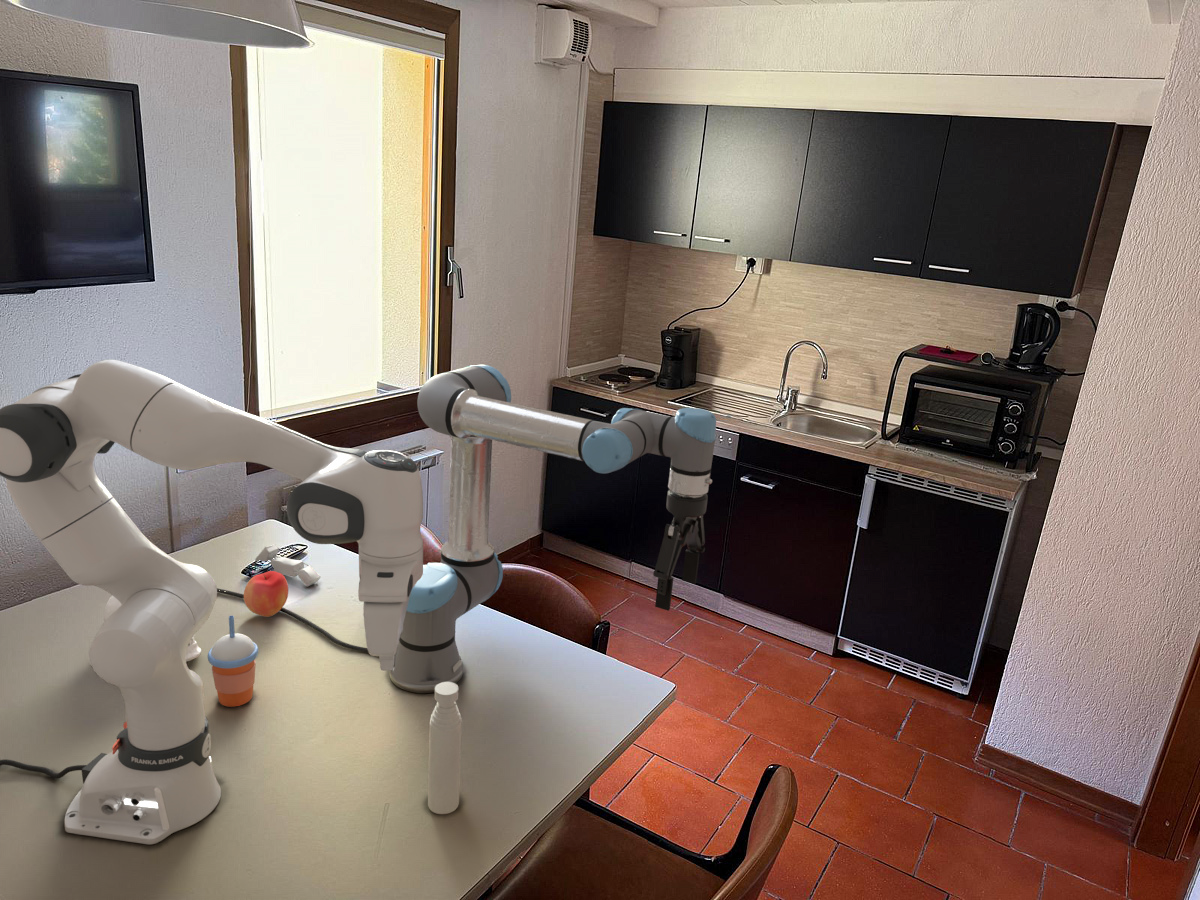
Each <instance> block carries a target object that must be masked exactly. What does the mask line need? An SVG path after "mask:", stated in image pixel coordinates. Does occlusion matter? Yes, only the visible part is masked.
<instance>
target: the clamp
mask: <svg viewBox="0 0 1200 900" xmlns="http://www.w3.org/2000/svg"><path fill="white" fill-rule="evenodd" d="M280 549H281V547H279V546H278V545H277V544H272V545H266V546H264V547H263V549H262V550H261V551H260V552H259V554H258V555H257V556H256V557H255V559H254V562H255V563H256V561H259V560H262V561H268V560H271V562H270V563H269V564H271V565H272V566H273V568H274V571H275V572H278V573H281V574H282V575H283V576H288V577H292V578H296V577H298V578H299V579H300V580H301V582H303V584H304V585H305V587H309V586H312V585H314V584H316V583H318V582H319V580H320V579H321V578H322V577H321V575H320V574H319V573H318V572H317V570H315V569H314V568H313V566H312V565H310V564H309V565H308V564H307V563H305V562H304V561H303V560H301V559H300V560H299V559H292V558H289V557H285V556H278V553H279V551H280ZM273 558H274V559H273ZM272 559H273V560H272ZM305 566H306V567H305ZM270 571H271V570H270Z"/></svg>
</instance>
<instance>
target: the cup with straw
mask: <svg viewBox="0 0 1200 900" xmlns="http://www.w3.org/2000/svg"><path fill="white" fill-rule="evenodd" d="M228 626H229V628H228V629H229V633H227V634H226V635H223V636H221V637H220V638H219V639H217V640H216V641H215V642H214V644H213V646H212V647H211V648H210V649H209V651H208V653H207V661H208V662H209V664H210V665H211V671H212V677H213V682H214V687H215V689H216V693H217V698H218V702H219V704H220V705H222V706H225V707H229V708H232V707H233V708H234V707H238V706H242V705H245V704H247V703H248V702H250V701H251V700H252V698H253V694H254V684H255V680H256V664H257V663H256V659H257V658H258V655H259V650H260V649H259V646H258V645H257V644H256V643H255V642H254V641H253V640H252V639H251V638H250V637H249V636H248V635H245V634H242V633H240V632H239V633H237V632H235V616H234V615H229V616H228Z"/></svg>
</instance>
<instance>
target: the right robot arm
mask: <svg viewBox="0 0 1200 900" xmlns="http://www.w3.org/2000/svg"><path fill="white" fill-rule="evenodd" d="M416 402H417V403H416V404H417V411H418V415H419V417H420V418H421V420H422V422H423V423H424V425H426V426H427V427H428V428H430V429H431V430H433V431H435V432H437V433H439V434H443V435H446V436H449V437H450V461H449V462H450V464H449V465H450V467H449V472H450V473H449V498H448V499H449V500H448V501H449V503H448V534H447V535H448V536H447V537H448V539H447V541H446V542H445V543H444V544H443V545H441V547H440V562H428V563H427V564H423V575H422V577H421V578H420V580H418V581H417V583H416V584H415V586H414V587H413V588H412V590H411V595H410V599H409V602H408V606H407V610H406V614H405V618H404V622H403V631H402V634H401V636H400V638H399V642H398V646H397V651H396V654H395V655H394V667H393V669H392V670H391V671H389V679H390V681H391V682H392V683H393V684H394V685H395V686H396V687H398V688H399V689H401V690H404V691H407V692H410V693H416V694H430V693H431V694H432V693H435V687H436V685H437V684H439V683H442V682H453V683H455V684H457V683H458V682H459V681H460V680H461V679H462V676H463V672H464V662H463V660H462V657H461V656H460V653H459V649H458V646H457V642H456V622H457V620H458V619H459V618H461V617H462V616H463V615H465V614H467V613H469V612H470V611H471V610H472V609H474V608H476V607H477V606H479V605H480V604H482V603H484V602H486V601H487V600H489V599H490V598H491V597H492V596H493V595H494V594H495V593H496V592H497V591H498V590H499V588H500V586H501V585H502V581H503V578H504V569H503V564H502V561H501V560H499V559H498V558H499V556H498V555H497V554H498V553H496V551H495V547H494V545H492V544H491V542H489V524H490V523H489V522H490V497H491V479H492V478H491V477H492V452H493V451H492V450H493V441H494V442H499V443H503V444H507V445H512V446H517V447H521V448H524V449H529V450H534V451H538V452H542V453H546V454H551V455H555V456H558V457H559V456H560V457H563V458H567V459H572V460H576V461H581V462H585V464H586V465H587V467H589V468H590V469H591V470H592V471H593V472H595V473H598V474H609V473H612V472H617V471H619V470H621V469H623V468H624V467H626V466H627V465H628V464H630V463H632V462H634V461H635V460H637V459H639V458H641V457H642V456H644V455H646V454H652V455H657V456H660V457H666V458H667V457H668V458H670V467H669V473H668V474H669V476H668V483H667V488H668V490H667V495H666V504H665V505H666V506H665V508H666V510H667V511H668V512H669V513H671V514H672V515H673V518H672V520H671V522H670V524H669V523H666V524H665V527H664V533H663V539H662V541H661V546H660V550H659V553H658V555H657V560H656V564H655V567H654V570H653V577H654V578H657V584H656V594H655V604H654V607H655V608H659V609H661V610H665V611H670V610H671V603H672V595H673V587H674V586H673V585H674V576H673V574H674V571H675V568H676V565H677V562H678V559H679V557H680V554H681V551H682V548H684V547H685V546H686V547H687V549H686V550H685V551H684V552H685V553H684V559H683V560H684V562H683V569H682V570H683V571H682V579H681V582H686V583H690V584H693V585H695V584H696V583H697V578H698V570H699V563H700V554H701V553H704V552H705V550H706V547H705V546H704V545H705V543H706V538H705V526H704V525H705V524H704V515H705V514H706V513H707V508H708V507H707V506H708V498H709V496H708V493H709V488H710V485H712V483H713V479H711V472H712V465H713V464H712V463H713V458H714V451H715V443H716V440H717V436H716V433H717V432H716V431H717V417H716V415H715V414H714V413H713V412H712V411H710V410H707V409H703V408H699V407H697V408H696V407H695V408H694V407H682V408H679V409H677V411H676V413H675V415H674V416H670V415H666V414H661V413H657V412H656V413H655V412H650V411H647V410H643V409H640V408H628V407H622V408H619V409H618V410H617V411H616V413H615V414H614V415H613V416H612V419H611V422H610V423H609V422H604V421H603V422H602V421H597V420H593V419H589V418H585V417H580V416H574V415H570V414H565V413H561V412H556V411H551V410H546V409H542V408H538V407H533V406H527V405H523V404H518V403H515V402H512V391H511V387H510V384H509V382H508V380H507V378H506V377H504V375H503V373H502V372H501V371H500V370H499V369H497V368H495V367H494V366H491V365H488V364H477V365H472V364H471V365H467V366H465V367H463V368H457V369H455V370H450V371H446V372H442V373H439V374H435V375H433V376H432V377H430V378H429V379H428V380H427V381H426V382H425V383H423V385H422V386H421V388H420V389H419V392H418V395H417V401H416ZM219 590H220V591H219ZM224 591H226V592H224ZM217 594H222V595H223V594H224V595H228V596H232V597H236V598H240V599H244V593H240V592H236V591H232V590H227V589H223V588H218V587H217ZM279 612H281V613H283V614H285V615H288V616H290V617H292V618H293V619H296V620H298V621H299V622H301V623H303V624H304V625H306V626H308V627H310V628H311V629H312V630H315V631H316V632H318V633H320V634H321V635H323V636H324V637H325V638H327V639H328V640H329V641H330V642H332V643H335V644H336V645H338V646H340V647H343V648H346V649H349V650H353V651H357V652H362V653H366V654H367V653H368V654H369V652H368V649H367V647H365V646H364V647H363V646H359V645H355V644H354V645H353V644H350V643H348V642H345V641H343V640H340V639H338V638H336V637H335V636H333V635H332V634H330V633H329V632H328V631H327V630H325V629H323V628H321V627H320V626H319V625H317V624H316V623H313V622H312V621H310V620H309V619H307V618H305V617H303V616H301V615H300V614H298V613H295V612H294V611H292V610H289V609H286V608H285V607H284V606H283V607H282V608H281V610H280V611H279Z"/></svg>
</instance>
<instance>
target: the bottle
mask: <svg viewBox="0 0 1200 900" xmlns="http://www.w3.org/2000/svg"><path fill="white" fill-rule="evenodd" d="M435 703H436V704H435V706H434V708H433V711H432V713H431V715H430V719H429V736H428V739H429V740H428V777H427V778H428V782H427V783H428V784H427V785H428V786H427V807H428V809H429V810H430V811H431V812H432V813H434V814H437V815H448V814H450V813H453V812H454V811H456V809H457V808H458V807H459V806H460V805H459V804H460V782H461V755H462V754H461V753H462V751H461V750H462V728H463V727H462V725H463V724H462V723H463V720H462V719H463V718H462V715H461V713H460V710H459V708H458V707H459V706H458V705H457V702H456V701H455V702H453V703H449V704H442V703H439V702H437V701H436V702H435Z"/></svg>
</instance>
